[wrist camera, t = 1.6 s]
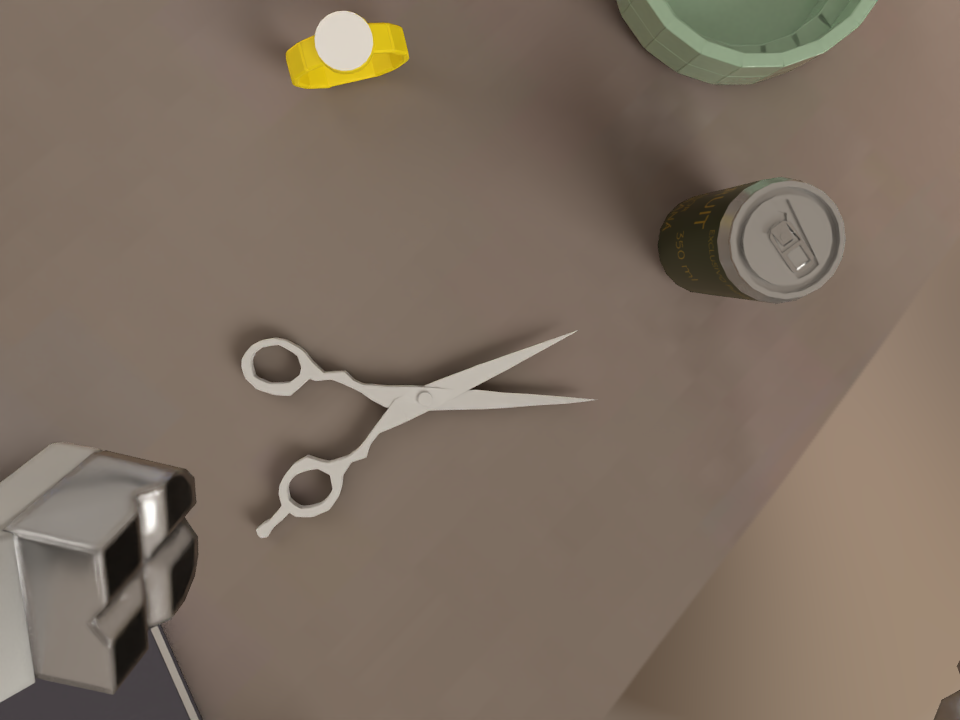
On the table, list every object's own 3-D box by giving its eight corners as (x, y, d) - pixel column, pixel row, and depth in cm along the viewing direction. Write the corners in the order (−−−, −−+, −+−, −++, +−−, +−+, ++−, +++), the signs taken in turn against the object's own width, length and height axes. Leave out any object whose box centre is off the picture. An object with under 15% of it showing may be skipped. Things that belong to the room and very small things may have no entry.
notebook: (-127, 545, 48) (32, 876, 51) (-145, 554, 47) (19, 895, 49) (90, 464, 48) (238, 799, 51) (78, 470, 47) (231, 816, 50)
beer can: (768, 255, 49) (875, 254, 37) (690, 312, 49) (771, 329, 37) (714, 175, 48) (805, 148, 36) (635, 234, 48) (699, 226, 37)
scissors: (208, 352, 47) (571, 269, 47) (212, 351, 48) (569, 269, 48) (258, 538, 49) (610, 457, 49) (261, 534, 49) (608, 454, 50)
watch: (304, 108, 47) (285, 87, 41) (290, 55, 46) (269, 26, 41) (413, 81, 47) (410, 56, 41) (401, 29, 47) (395, -4, 41)
